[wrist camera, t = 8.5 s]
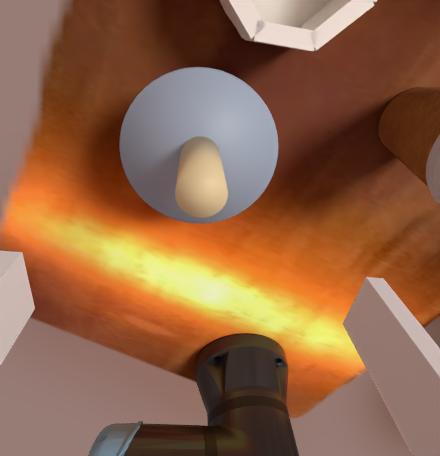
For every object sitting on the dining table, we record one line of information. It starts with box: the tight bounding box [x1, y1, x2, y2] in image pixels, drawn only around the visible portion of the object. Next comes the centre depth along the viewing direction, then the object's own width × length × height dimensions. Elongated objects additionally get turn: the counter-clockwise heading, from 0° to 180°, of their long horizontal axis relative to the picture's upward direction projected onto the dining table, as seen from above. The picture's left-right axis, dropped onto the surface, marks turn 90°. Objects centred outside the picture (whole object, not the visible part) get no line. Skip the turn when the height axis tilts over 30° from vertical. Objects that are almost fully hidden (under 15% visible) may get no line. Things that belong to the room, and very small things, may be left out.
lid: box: [119, 67, 278, 223], centre depth 22 cm, size 13×13×8 cm
